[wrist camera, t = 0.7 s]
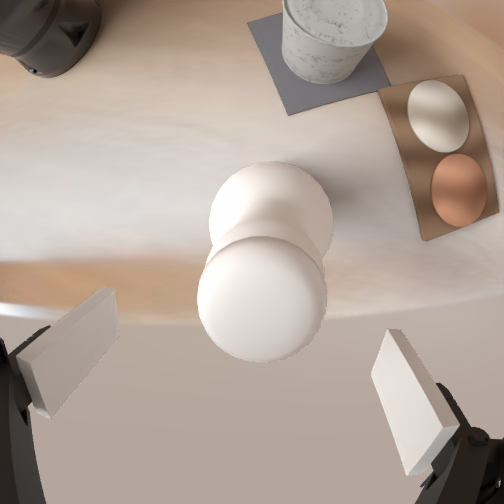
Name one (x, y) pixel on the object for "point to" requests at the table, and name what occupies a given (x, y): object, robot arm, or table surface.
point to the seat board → (441, 153)
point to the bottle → (266, 263)
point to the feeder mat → (302, 91)
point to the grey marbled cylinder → (330, 36)
